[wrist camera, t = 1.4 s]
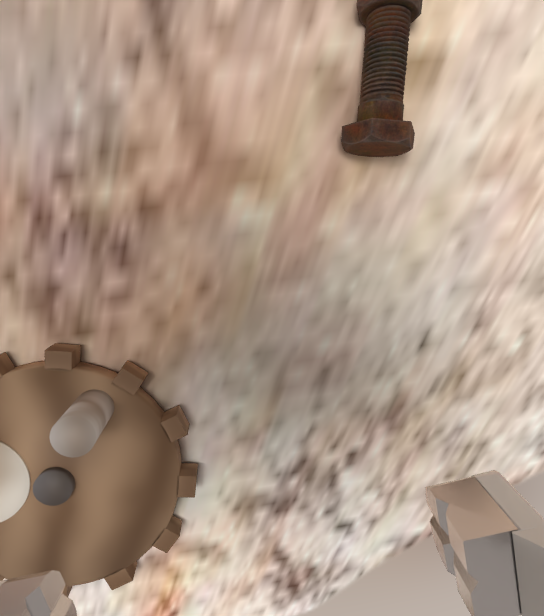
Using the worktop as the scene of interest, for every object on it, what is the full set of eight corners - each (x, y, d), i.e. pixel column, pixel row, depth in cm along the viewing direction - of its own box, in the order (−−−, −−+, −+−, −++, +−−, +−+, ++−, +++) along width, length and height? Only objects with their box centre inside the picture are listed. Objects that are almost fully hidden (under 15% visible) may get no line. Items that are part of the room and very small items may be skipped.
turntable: (-72, 581, 36) (-141, 662, 30) (-84, 333, 32) (-166, 361, 26) (188, 581, 39) (180, 655, 33) (206, 353, 35) (202, 383, 29)
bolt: (385, -31, 33) (369, 160, 36) (342, -62, 30) (327, 149, 33) (452, -73, 29) (429, 150, 31) (409, -114, 26) (386, 136, 28)
